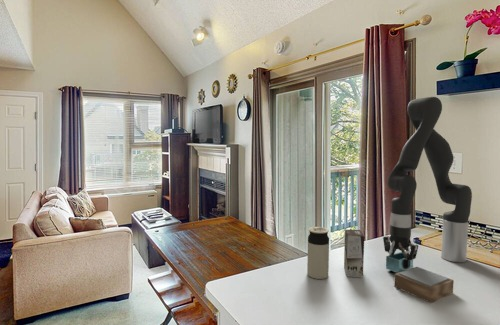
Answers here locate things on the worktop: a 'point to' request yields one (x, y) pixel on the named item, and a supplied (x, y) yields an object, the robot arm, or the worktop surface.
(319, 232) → the travel mug
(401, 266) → the box
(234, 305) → the worktop surface
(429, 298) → the stand
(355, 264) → the coffee box
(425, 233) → the worktop surface
